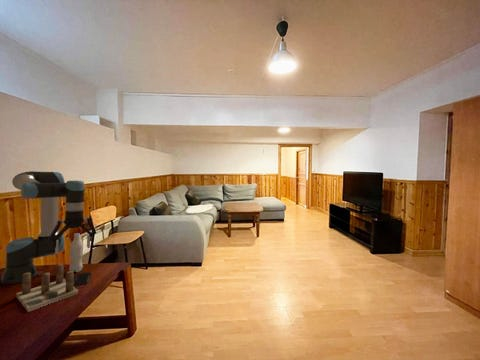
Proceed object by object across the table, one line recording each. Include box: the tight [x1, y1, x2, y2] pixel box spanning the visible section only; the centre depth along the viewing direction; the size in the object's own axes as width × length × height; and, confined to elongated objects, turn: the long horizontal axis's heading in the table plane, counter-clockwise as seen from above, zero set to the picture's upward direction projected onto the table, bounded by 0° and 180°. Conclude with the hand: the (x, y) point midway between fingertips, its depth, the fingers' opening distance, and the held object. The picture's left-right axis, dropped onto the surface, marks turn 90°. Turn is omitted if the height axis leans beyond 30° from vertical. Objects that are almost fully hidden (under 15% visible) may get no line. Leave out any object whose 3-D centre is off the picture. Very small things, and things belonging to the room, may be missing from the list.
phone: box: [73, 271, 92, 287], centre depth 135 cm, size 8×1×15 cm
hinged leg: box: [40, 272, 58, 298], centre depth 114 cm, size 4×10×10 cm, turn 66°
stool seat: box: [16, 263, 79, 313], centre depth 116 cm, size 20×20×12 cm
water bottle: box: [68, 232, 84, 273], centre depth 144 cm, size 7×7×25 cm
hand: (73, 250), depth 116 cm, fingers open, 13 cm apart
